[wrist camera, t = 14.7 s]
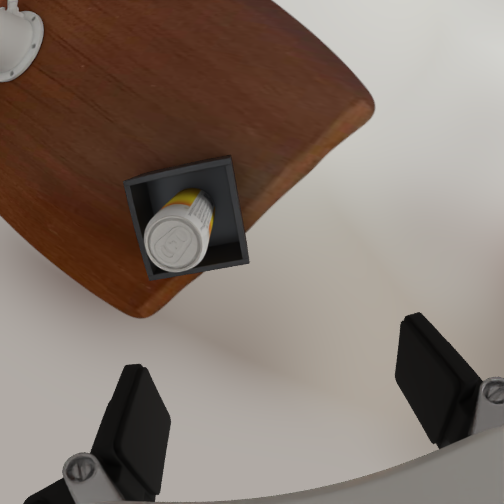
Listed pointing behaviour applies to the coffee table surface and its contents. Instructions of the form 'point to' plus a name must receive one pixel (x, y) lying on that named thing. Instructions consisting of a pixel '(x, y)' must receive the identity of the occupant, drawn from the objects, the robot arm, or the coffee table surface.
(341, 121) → the coffee table surface
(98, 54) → the coffee table surface
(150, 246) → the beer can
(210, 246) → the basket
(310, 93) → the coffee table surface
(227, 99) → the coffee table surface
